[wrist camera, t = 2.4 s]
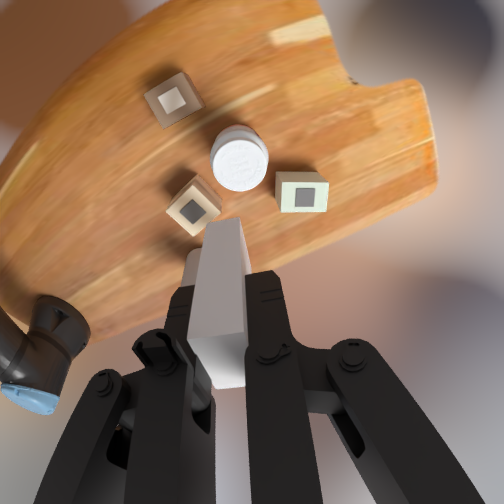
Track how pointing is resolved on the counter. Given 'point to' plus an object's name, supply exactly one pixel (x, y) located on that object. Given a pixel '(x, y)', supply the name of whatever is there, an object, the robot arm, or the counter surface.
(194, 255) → the beverage can
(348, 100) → the counter surface
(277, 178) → the sage block
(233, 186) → the pill bottle
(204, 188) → the beech block
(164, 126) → the walnut block
